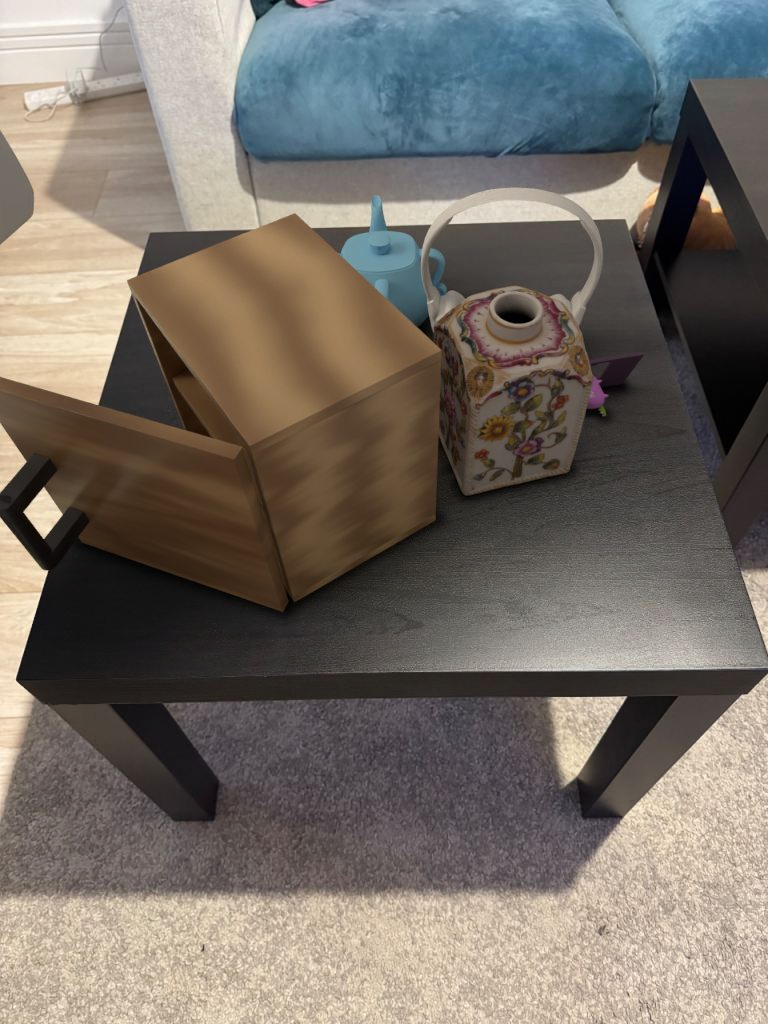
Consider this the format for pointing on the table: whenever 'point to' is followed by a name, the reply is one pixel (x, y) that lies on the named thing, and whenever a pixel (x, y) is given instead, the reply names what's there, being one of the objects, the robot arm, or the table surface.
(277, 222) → the cupboard
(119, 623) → the table surface
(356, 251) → the teapot
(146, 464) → the door
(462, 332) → the decorative jar
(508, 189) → the headphones
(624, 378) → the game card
